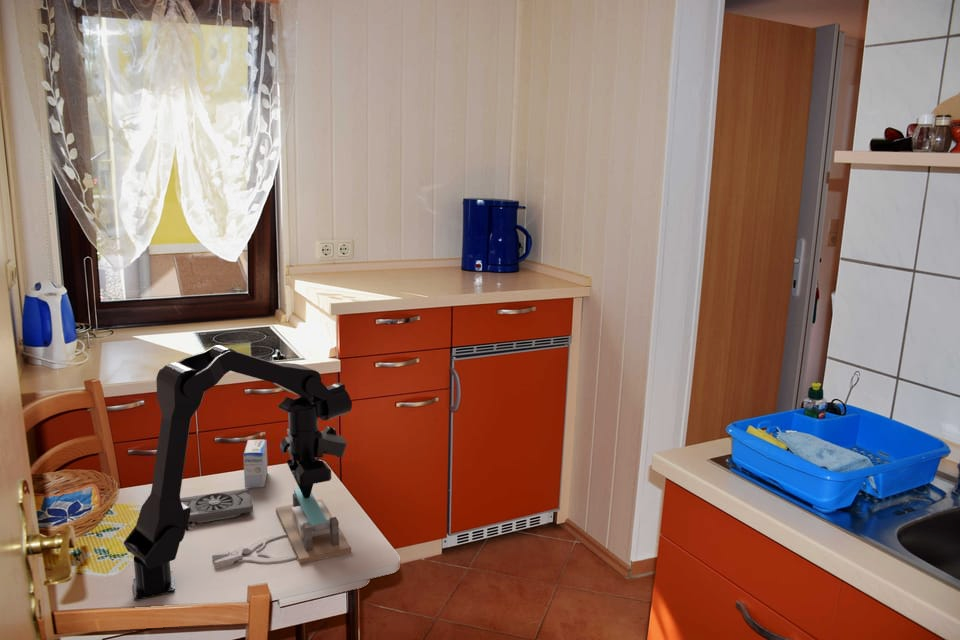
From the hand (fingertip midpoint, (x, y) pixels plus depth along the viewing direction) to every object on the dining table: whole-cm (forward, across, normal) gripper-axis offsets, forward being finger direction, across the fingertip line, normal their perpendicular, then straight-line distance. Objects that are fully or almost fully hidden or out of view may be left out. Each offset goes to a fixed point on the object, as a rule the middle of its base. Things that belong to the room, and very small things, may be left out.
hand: (306, 496), depth 154 cm
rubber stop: (+6, +3, 0) cm, 6 cm away
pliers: (+6, -9, +12) cm, 16 cm away
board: (+6, -4, 0) cm, 7 cm away
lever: (+1, -4, 0) cm, 5 cm away
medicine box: (+6, +24, +6) cm, 25 cm away
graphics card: (+6, +10, +18) cm, 22 cm away
